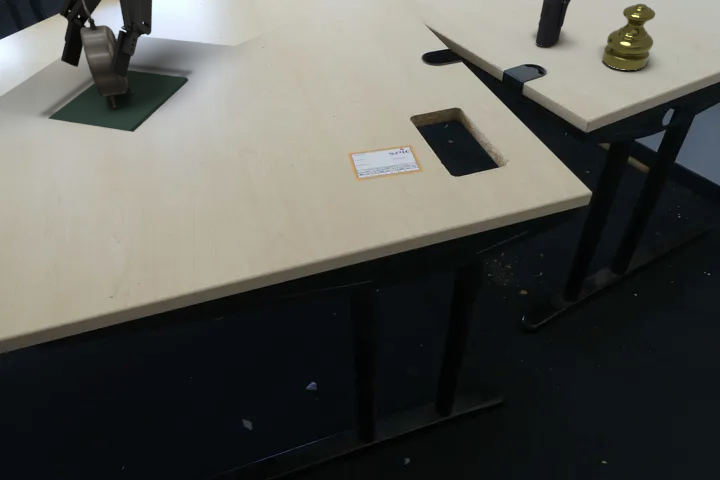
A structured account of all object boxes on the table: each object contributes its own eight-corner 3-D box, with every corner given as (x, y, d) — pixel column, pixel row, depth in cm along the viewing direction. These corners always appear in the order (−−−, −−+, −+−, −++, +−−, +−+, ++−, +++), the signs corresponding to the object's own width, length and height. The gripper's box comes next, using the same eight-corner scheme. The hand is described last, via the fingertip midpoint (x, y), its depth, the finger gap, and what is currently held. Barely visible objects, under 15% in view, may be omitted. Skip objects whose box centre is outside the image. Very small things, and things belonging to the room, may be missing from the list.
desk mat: (49, 121, 89) (47, 118, 89) (114, 71, 101) (113, 68, 101) (130, 133, 85) (129, 130, 85) (188, 80, 97) (187, 77, 97)
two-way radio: (546, 35, 104) (564, -48, 94) (567, 42, 102) (587, -43, 91) (531, 45, 102) (547, -40, 91) (552, 52, 99) (571, -34, 89)
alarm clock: (103, 85, 96) (65, -9, 84) (134, 78, 97) (100, -14, 86) (106, 114, 88) (64, 17, 77) (139, 107, 90) (102, 10, 78)
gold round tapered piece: (629, 50, 98) (647, -6, 91) (654, 68, 93) (675, 10, 86) (593, 56, 97) (608, 0, 90) (616, 75, 92) (635, 17, 85)
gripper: (197, -49, 85) (163, 87, 86) (92, -60, 92) (62, 66, 93) (165, -77, 78) (129, 72, 79) (55, -87, 85) (23, 49, 86)
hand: (93, 68), depth 86 cm, fingers closed on alarm clock, 10 cm apart
